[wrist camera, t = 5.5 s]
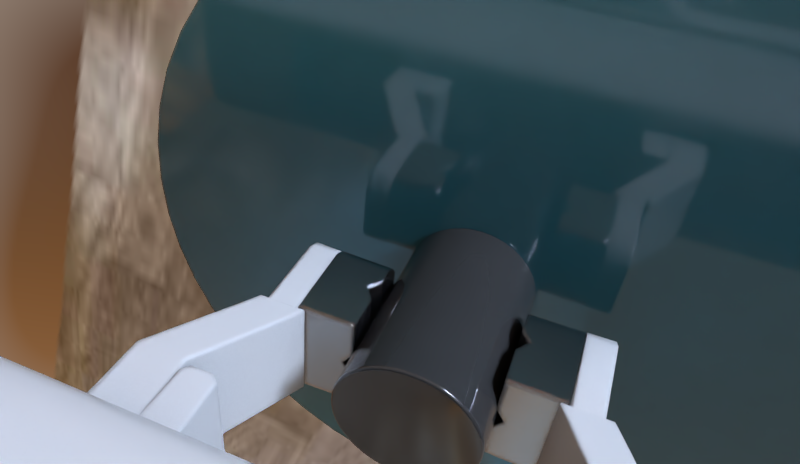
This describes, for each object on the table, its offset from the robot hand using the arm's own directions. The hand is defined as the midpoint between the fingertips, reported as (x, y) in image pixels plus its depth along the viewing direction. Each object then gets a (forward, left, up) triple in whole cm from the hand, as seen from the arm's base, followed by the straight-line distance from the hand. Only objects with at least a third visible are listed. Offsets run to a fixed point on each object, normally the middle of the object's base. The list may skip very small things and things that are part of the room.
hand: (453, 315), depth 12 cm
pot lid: (0, 0, -2) cm, 2 cm away
